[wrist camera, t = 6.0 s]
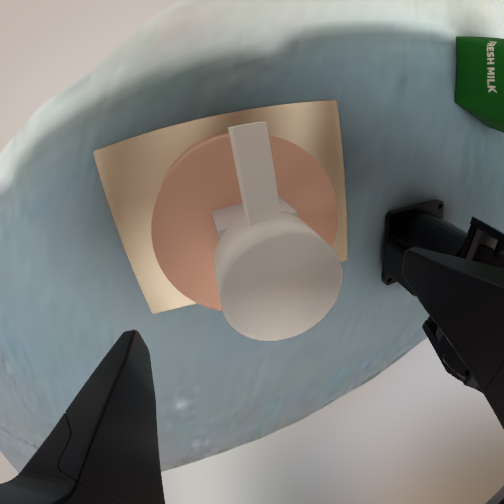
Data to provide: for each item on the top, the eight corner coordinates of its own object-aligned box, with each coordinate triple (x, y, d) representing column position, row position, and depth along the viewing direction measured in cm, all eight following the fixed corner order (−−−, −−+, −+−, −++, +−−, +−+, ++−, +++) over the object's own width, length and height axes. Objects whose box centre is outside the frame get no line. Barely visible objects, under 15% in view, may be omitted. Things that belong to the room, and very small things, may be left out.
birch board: (331, 100, 15) (336, 99, 14) (343, 256, 20) (347, 260, 19) (96, 150, 13) (92, 151, 13) (153, 308, 18) (152, 314, 18)
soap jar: (300, 119, 14) (358, 123, 9) (315, 257, 19) (360, 309, 14) (139, 154, 13) (111, 173, 8) (183, 293, 18) (187, 361, 12)
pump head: (277, 116, 11) (333, 115, 7) (296, 260, 14) (341, 319, 10) (181, 134, 10) (177, 142, 6) (218, 281, 14) (236, 353, 9)
